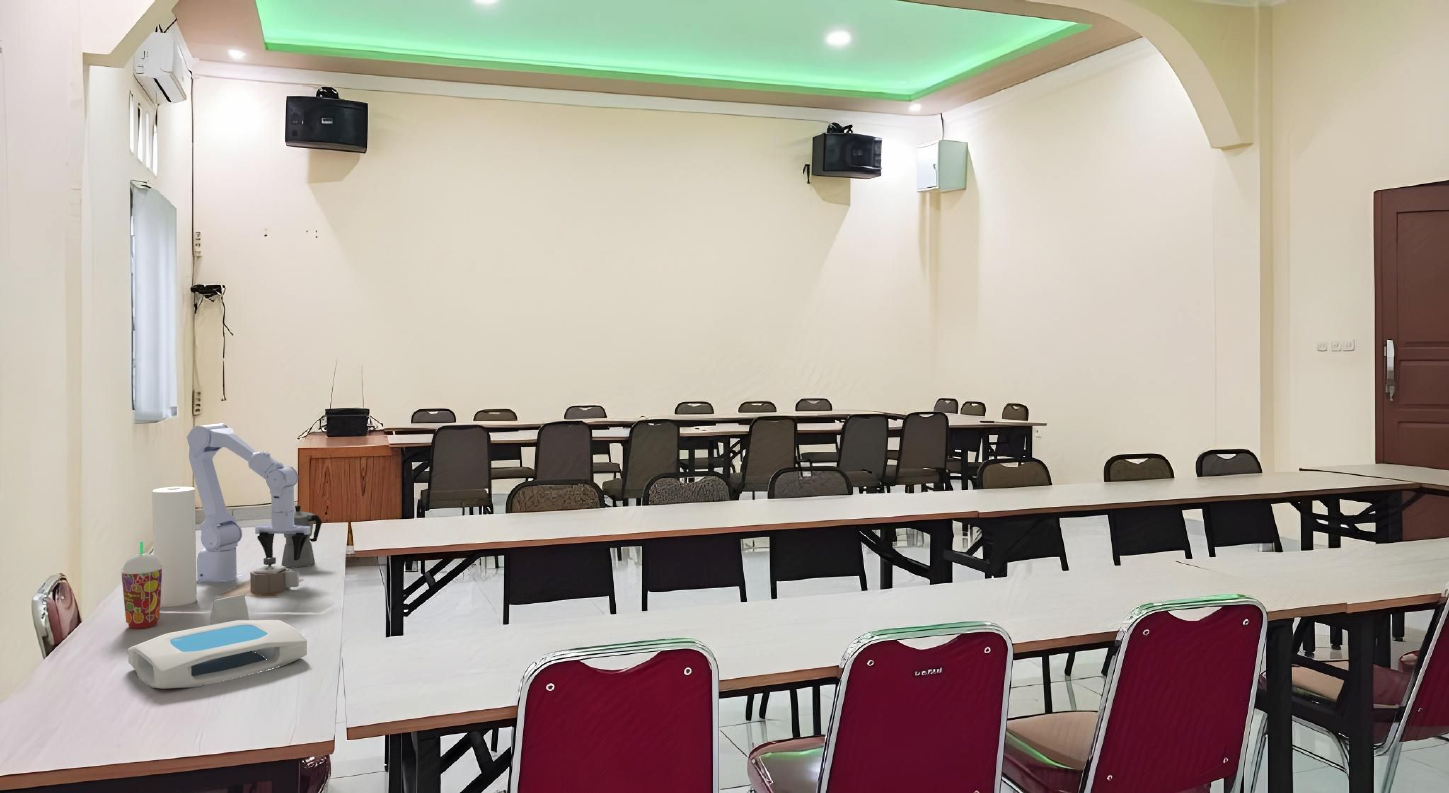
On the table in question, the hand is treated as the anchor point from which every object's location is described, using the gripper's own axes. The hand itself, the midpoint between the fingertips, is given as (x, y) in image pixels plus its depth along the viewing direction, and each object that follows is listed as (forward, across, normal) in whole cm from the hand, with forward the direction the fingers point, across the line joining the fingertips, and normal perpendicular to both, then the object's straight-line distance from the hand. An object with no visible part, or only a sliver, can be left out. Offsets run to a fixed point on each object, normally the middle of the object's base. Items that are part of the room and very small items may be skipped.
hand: (283, 559), depth 265 cm
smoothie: (+7, +14, +40) cm, 43 cm away
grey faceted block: (+6, -2, +8) cm, 10 cm away
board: (+7, +3, +6) cm, 10 cm away
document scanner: (+7, -18, +67) cm, 70 cm away
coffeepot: (+7, +6, -23) cm, 25 cm away
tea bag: (+7, -12, +51) cm, 53 cm away
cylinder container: (+7, +18, +21) cm, 29 cm away
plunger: (+6, 0, +8) cm, 10 cm away
